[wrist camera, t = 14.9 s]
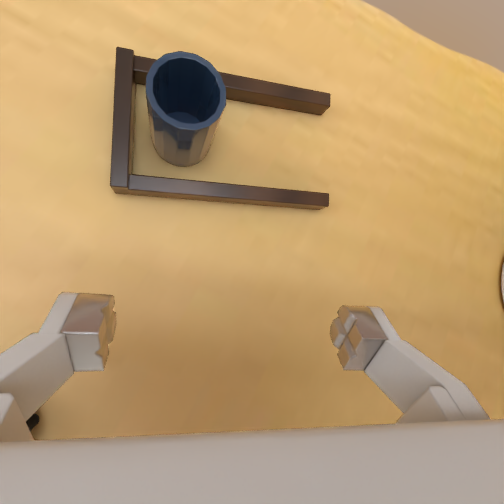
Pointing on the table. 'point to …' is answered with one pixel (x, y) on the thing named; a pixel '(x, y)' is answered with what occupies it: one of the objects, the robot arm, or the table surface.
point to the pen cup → (184, 106)
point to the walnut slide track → (125, 182)
